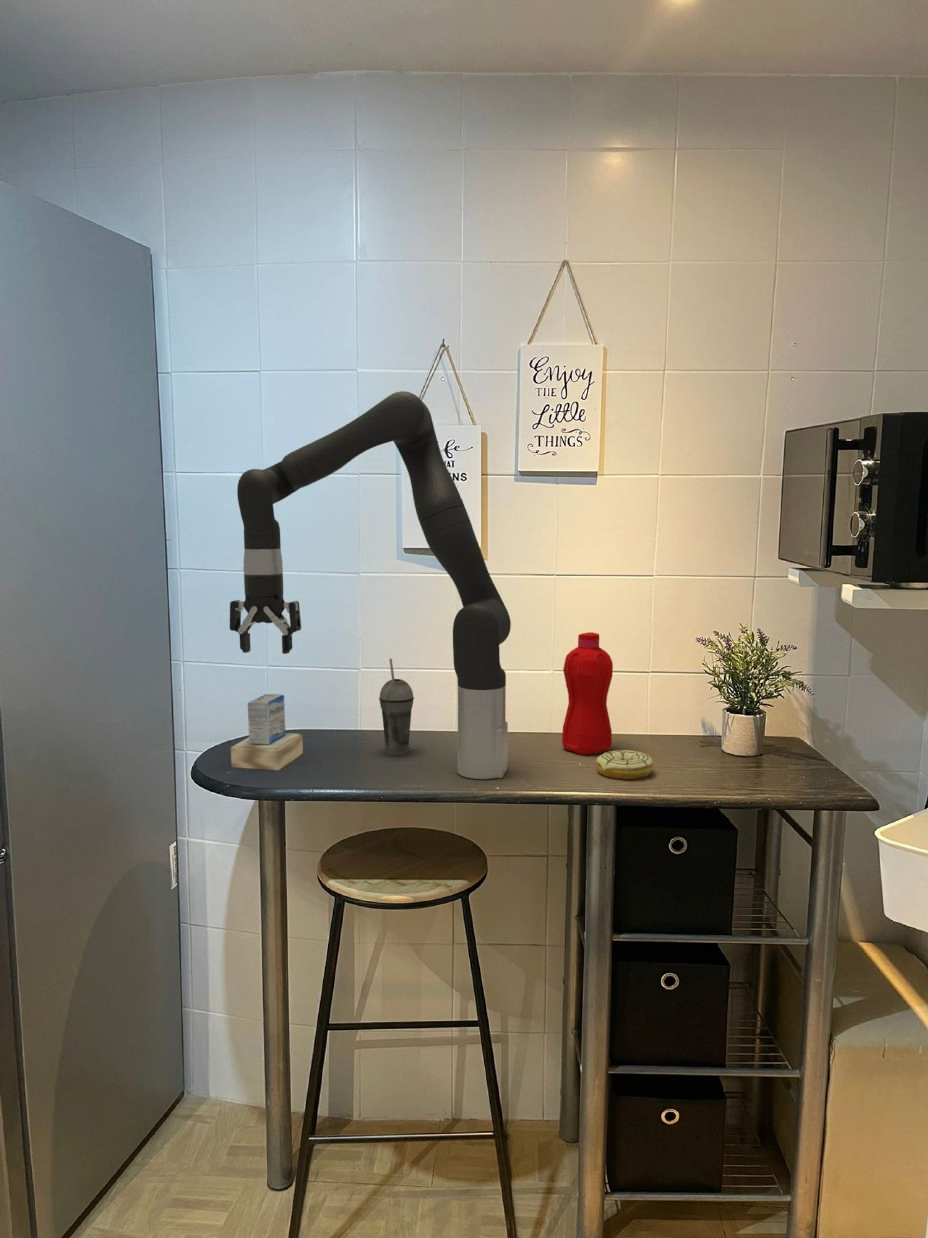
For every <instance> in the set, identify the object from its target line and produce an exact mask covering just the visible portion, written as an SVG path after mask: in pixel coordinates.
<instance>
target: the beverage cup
mask: <svg viewBox="0 0 928 1238" xmlns="http://www.w3.org/2000/svg"><path fill="white" fill-rule="evenodd" d="M389 666H390V677H391V679H390V680H388V681H386V682H385V684H384V685H383V686H382V688H381V689H380V692H379V698H378V700H379V706H380V709H381V715H382V723H383V724H382V726H383V736H384V737H383V738H384V746H385V751H386V754H387V755H390V756H403V755H406V754H408V752H409V745H410V735H411V734H410V732H411V723H412V721H411V720H412V709H413V706H414V705H413V704H414V699H415V697H414V692H413V689H412V688H411V686H410V684H409V683H408V682H407V681H405V680H404V679H401V678H395V672H394V667H393V658H389Z"/></svg>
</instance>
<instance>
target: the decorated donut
mask: <svg viewBox="0 0 928 1238" xmlns="http://www.w3.org/2000/svg"><path fill="white" fill-rule="evenodd" d="M653 762H654V761H653V759H652V758H651V757H650V756H649V755H648V754H646V753H644V752H641V751H638V750H637V751H636V750H630V749H623V750H610V751H605V752H603V754H600V755H599V756H598V757H597V758H596V770H597V773H598V774H600V775H602V776H604V777H606V778H607V777H608V778H612V779H615V780H616V779H619V780H637V779H638V780H639V779H644V778H647V777H648V776H649V775H650V774H651V773H652V771H653V769H654V763H653Z"/></svg>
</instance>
